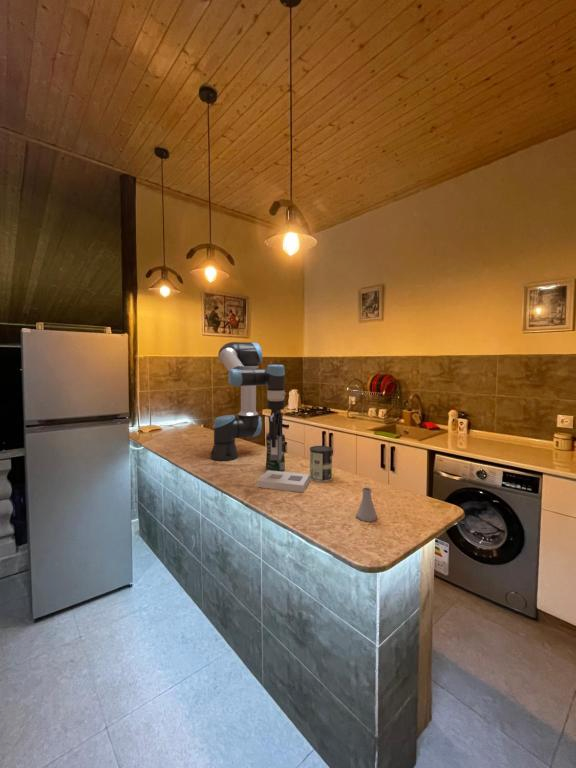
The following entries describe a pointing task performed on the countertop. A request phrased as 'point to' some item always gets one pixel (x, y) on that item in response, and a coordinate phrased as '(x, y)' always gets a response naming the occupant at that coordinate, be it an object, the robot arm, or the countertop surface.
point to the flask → (366, 507)
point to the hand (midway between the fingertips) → (276, 453)
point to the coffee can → (321, 463)
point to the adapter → (279, 456)
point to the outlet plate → (284, 481)
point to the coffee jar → (275, 464)
